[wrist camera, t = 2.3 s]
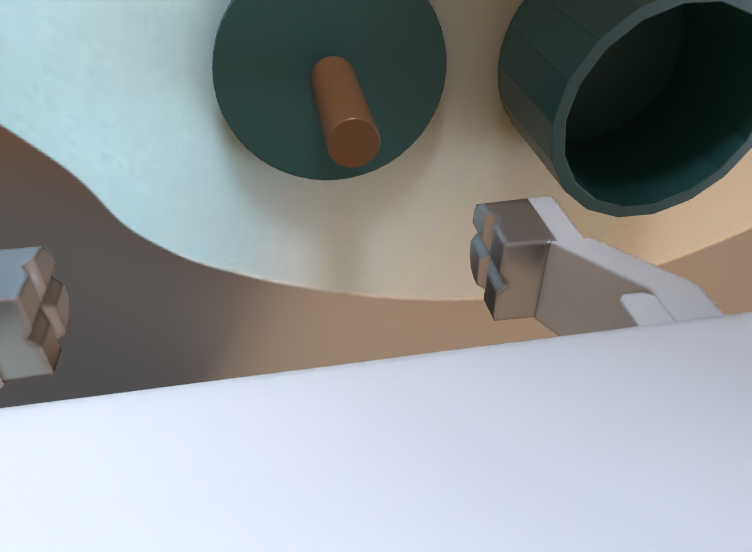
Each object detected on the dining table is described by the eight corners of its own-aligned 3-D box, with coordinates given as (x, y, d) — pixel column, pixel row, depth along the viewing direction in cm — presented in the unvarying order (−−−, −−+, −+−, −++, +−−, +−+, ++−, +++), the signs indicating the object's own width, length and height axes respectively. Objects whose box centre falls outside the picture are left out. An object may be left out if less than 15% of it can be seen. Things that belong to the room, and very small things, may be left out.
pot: (511, -52, 38) (578, -9, 30) (721, -59, 40) (831, -20, 32) (485, 153, 46) (532, 225, 39) (659, 139, 48) (735, 206, 41)
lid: (193, -52, 35) (182, 1, 27) (450, -60, 37) (508, -13, 29) (230, 180, 44) (229, 269, 36) (434, 163, 46) (475, 245, 38)
